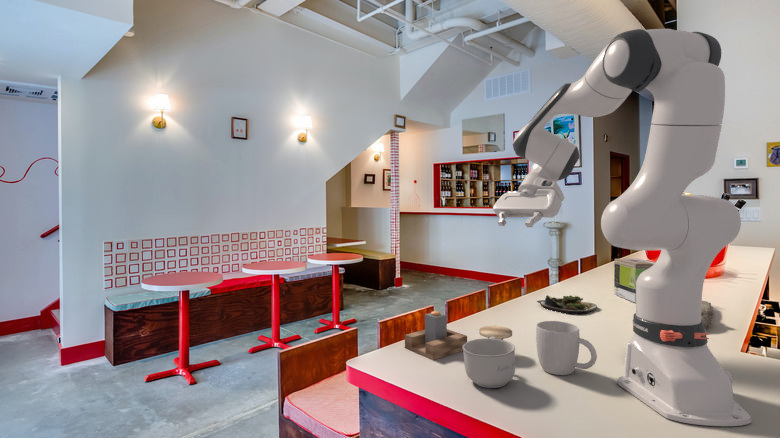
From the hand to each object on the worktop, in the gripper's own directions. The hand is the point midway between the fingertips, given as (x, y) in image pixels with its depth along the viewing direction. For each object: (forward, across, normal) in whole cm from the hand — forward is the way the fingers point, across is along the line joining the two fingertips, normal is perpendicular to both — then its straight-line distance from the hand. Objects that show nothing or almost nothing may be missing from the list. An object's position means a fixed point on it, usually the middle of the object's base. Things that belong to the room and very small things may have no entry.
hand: (513, 225), depth 119 cm
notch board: (+40, -5, +4) cm, 41 cm away
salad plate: (-4, -6, +49) cm, 50 cm away
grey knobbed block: (+40, -5, +3) cm, 40 cm away
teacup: (+43, +16, +2) cm, 46 cm away
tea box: (-27, +3, +72) cm, 77 cm away
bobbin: (+34, +7, +10) cm, 36 cm away
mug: (+32, +24, +13) cm, 42 cm away
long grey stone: (-17, +26, +62) cm, 70 cm away
